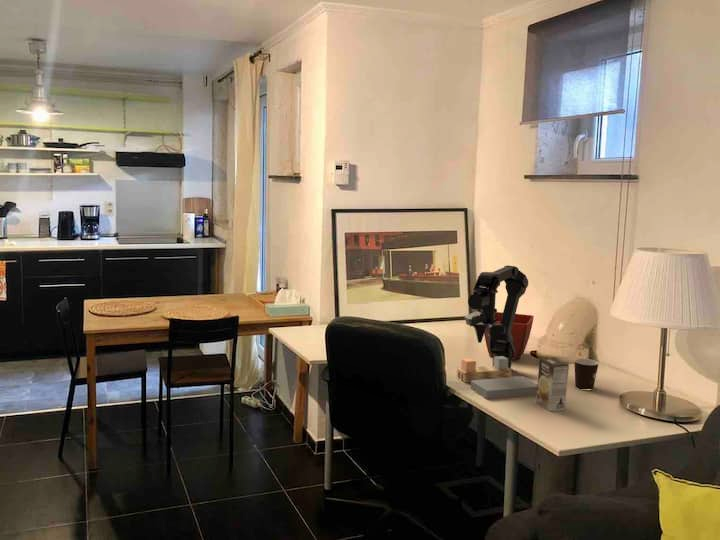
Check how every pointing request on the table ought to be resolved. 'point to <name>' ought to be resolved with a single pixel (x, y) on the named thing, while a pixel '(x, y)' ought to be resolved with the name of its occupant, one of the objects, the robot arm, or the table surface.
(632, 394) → the table surface
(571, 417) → the table surface
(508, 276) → the robot arm
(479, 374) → the wooden block
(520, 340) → the plant pot
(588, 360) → the coffee mug
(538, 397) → the coffee box
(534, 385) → the dock
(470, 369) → the orange cube
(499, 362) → the grey cube
